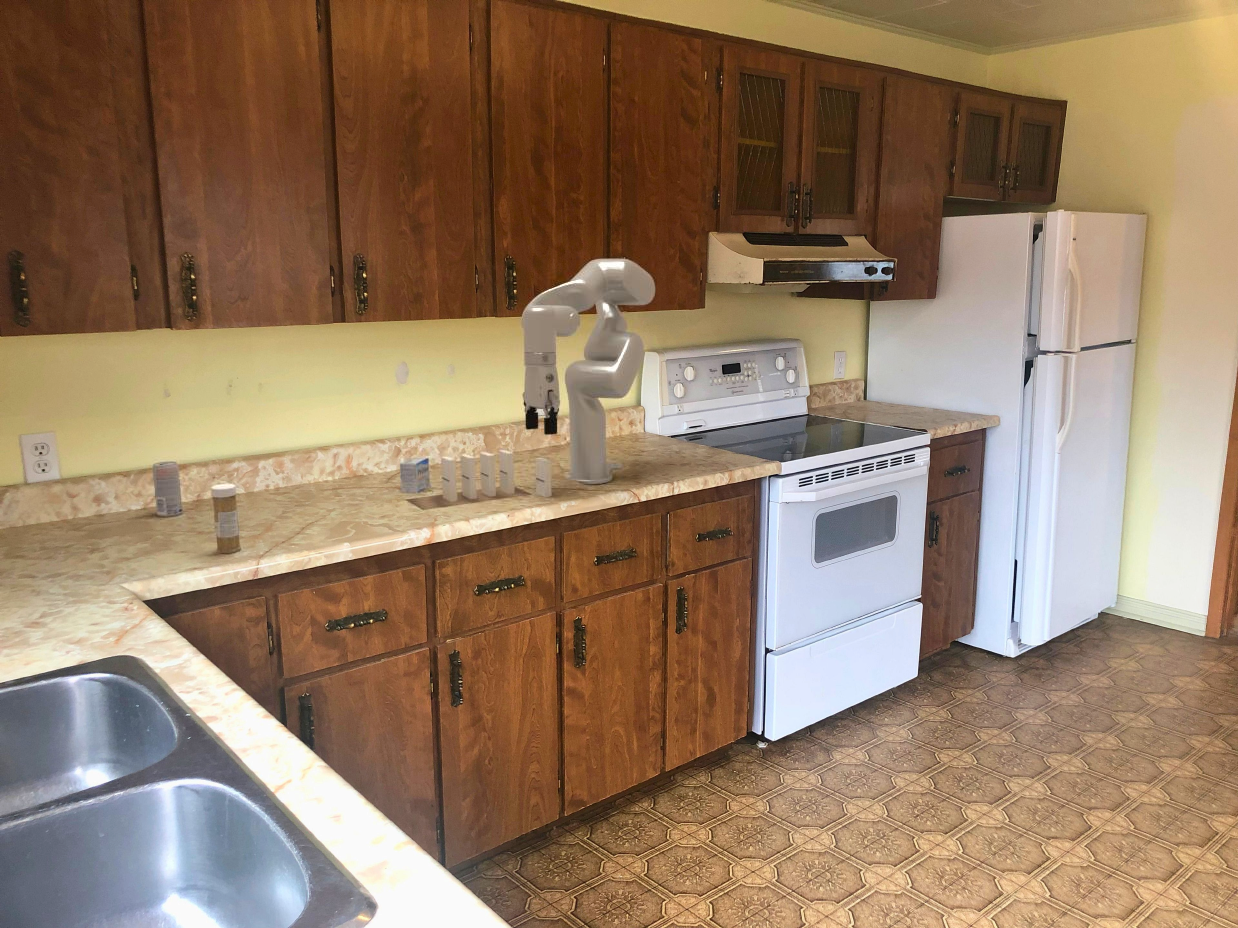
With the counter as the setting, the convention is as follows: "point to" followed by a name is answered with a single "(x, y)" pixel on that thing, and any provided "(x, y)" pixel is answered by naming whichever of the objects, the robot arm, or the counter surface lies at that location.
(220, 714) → the counter surface
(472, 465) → the domino
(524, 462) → the counter surface
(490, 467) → the domino
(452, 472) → the domino
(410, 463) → the medicine box
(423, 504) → the walnut board
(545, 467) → the domino
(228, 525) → the sprinkles bottle
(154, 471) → the energy drink
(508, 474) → the domino
